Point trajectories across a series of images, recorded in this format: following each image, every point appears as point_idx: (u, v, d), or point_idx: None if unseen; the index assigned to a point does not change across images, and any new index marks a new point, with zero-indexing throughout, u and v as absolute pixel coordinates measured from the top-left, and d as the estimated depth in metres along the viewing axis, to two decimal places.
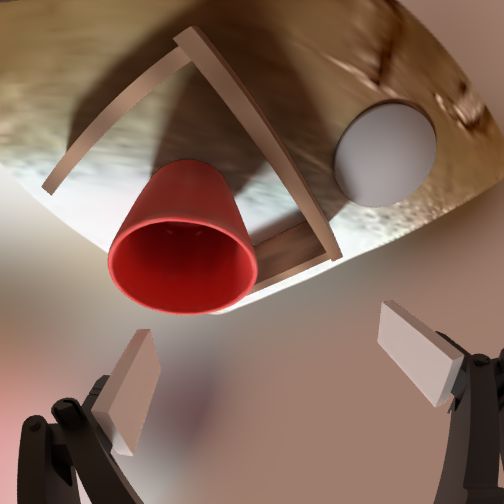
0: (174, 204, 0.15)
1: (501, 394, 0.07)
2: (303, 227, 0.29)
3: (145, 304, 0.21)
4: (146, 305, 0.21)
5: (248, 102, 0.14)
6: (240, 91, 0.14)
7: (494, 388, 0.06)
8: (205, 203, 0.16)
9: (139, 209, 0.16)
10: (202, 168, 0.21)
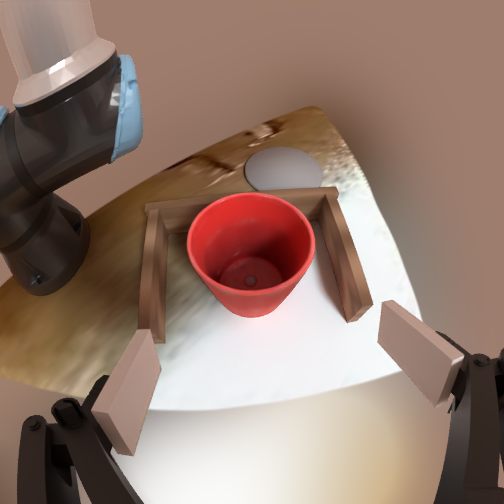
0: None
1: (501, 394, 0.07)
2: (321, 224, 0.35)
3: (268, 288, 0.20)
4: (270, 288, 0.20)
5: (192, 198, 0.32)
6: (185, 199, 0.32)
7: (494, 388, 0.06)
8: None
9: None
10: None
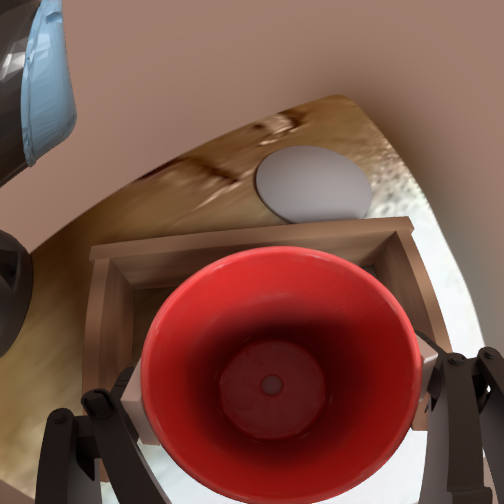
0: None
1: (481, 394, 0.07)
2: (380, 275, 0.21)
3: (329, 490, 0.06)
4: (333, 490, 0.06)
5: (166, 237, 0.17)
6: (154, 239, 0.17)
7: (471, 387, 0.06)
8: None
9: None
10: None
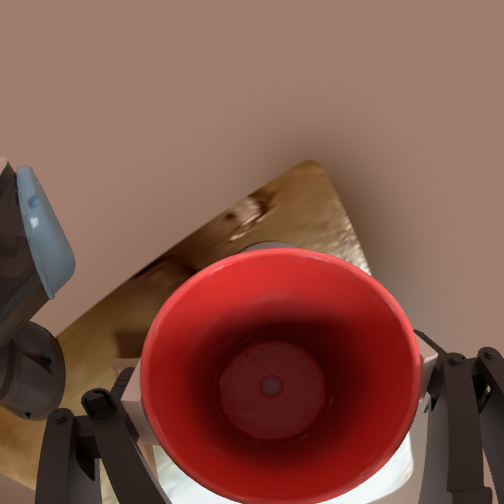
0: None
1: (481, 394, 0.07)
2: None
3: (329, 492, 0.06)
4: (333, 491, 0.06)
5: None
6: None
7: (471, 387, 0.06)
8: None
9: None
10: None
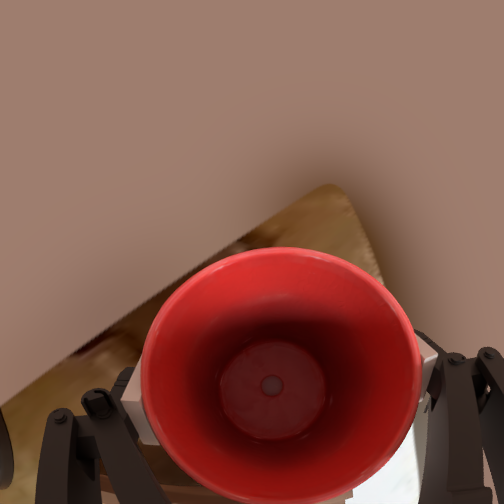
0: None
1: (481, 394, 0.07)
2: None
3: (329, 491, 0.06)
4: (333, 491, 0.06)
5: (103, 492, 0.11)
6: None
7: (471, 387, 0.06)
8: None
9: None
10: None
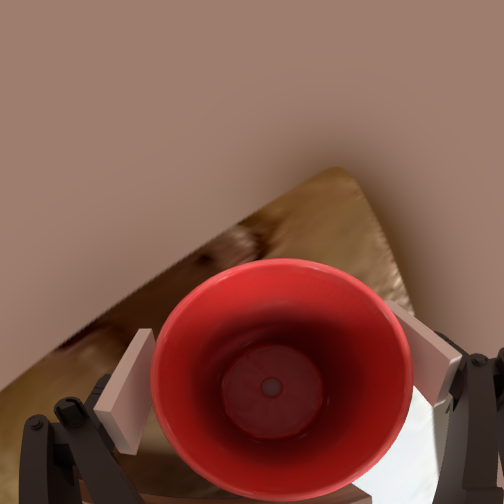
0: None
1: (499, 394, 0.07)
2: None
3: (327, 486, 0.07)
4: (330, 486, 0.07)
5: (85, 502, 0.09)
6: None
7: (492, 388, 0.06)
8: None
9: None
10: None
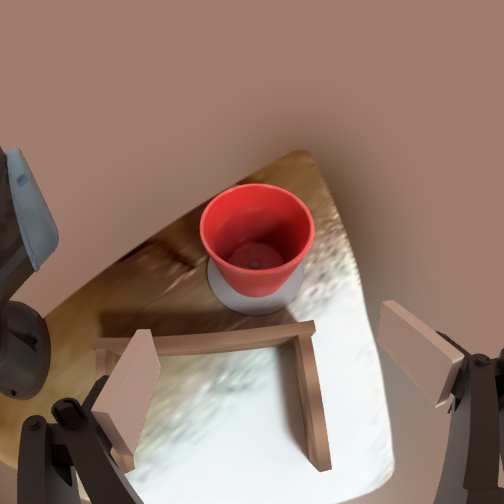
0: None
1: (501, 394, 0.07)
2: (294, 354, 0.29)
3: (274, 268, 0.23)
4: (275, 267, 0.23)
5: None
6: None
7: (494, 388, 0.06)
8: None
9: None
10: None
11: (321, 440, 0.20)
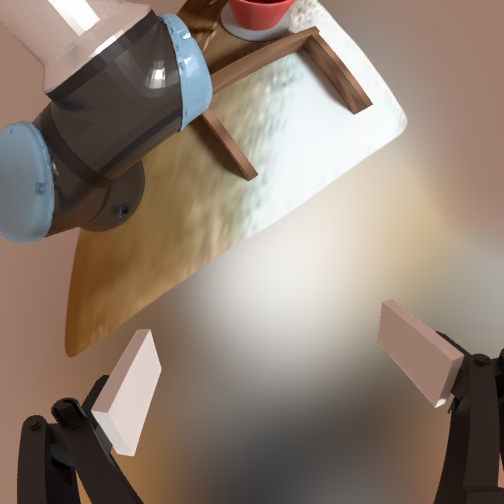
0: None
1: (501, 394, 0.07)
2: (309, 51, 0.35)
3: None
4: None
5: (218, 71, 0.31)
6: (212, 74, 0.32)
7: (494, 388, 0.06)
8: None
9: None
10: None
11: (357, 87, 0.33)
